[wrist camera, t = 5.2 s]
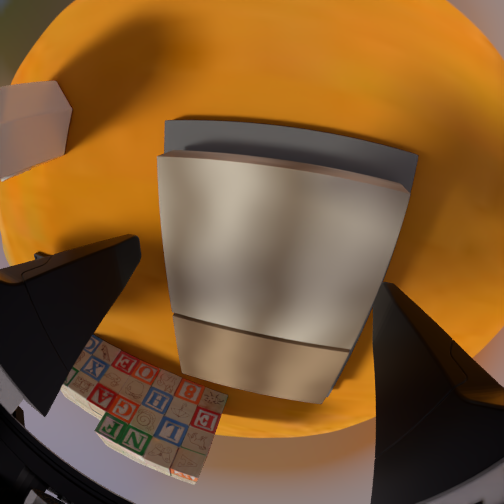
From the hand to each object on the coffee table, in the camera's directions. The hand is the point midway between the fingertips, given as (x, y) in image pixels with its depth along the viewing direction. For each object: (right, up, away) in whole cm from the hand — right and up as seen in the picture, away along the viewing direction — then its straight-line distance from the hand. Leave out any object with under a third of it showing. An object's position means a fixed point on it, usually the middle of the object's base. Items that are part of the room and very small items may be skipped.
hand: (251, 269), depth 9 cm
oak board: (+1, -8, +14) cm, 16 cm away
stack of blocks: (-13, -16, +23) cm, 31 cm away
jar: (-20, +13, +9) cm, 26 cm away
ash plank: (+1, +1, +9) cm, 9 cm away
